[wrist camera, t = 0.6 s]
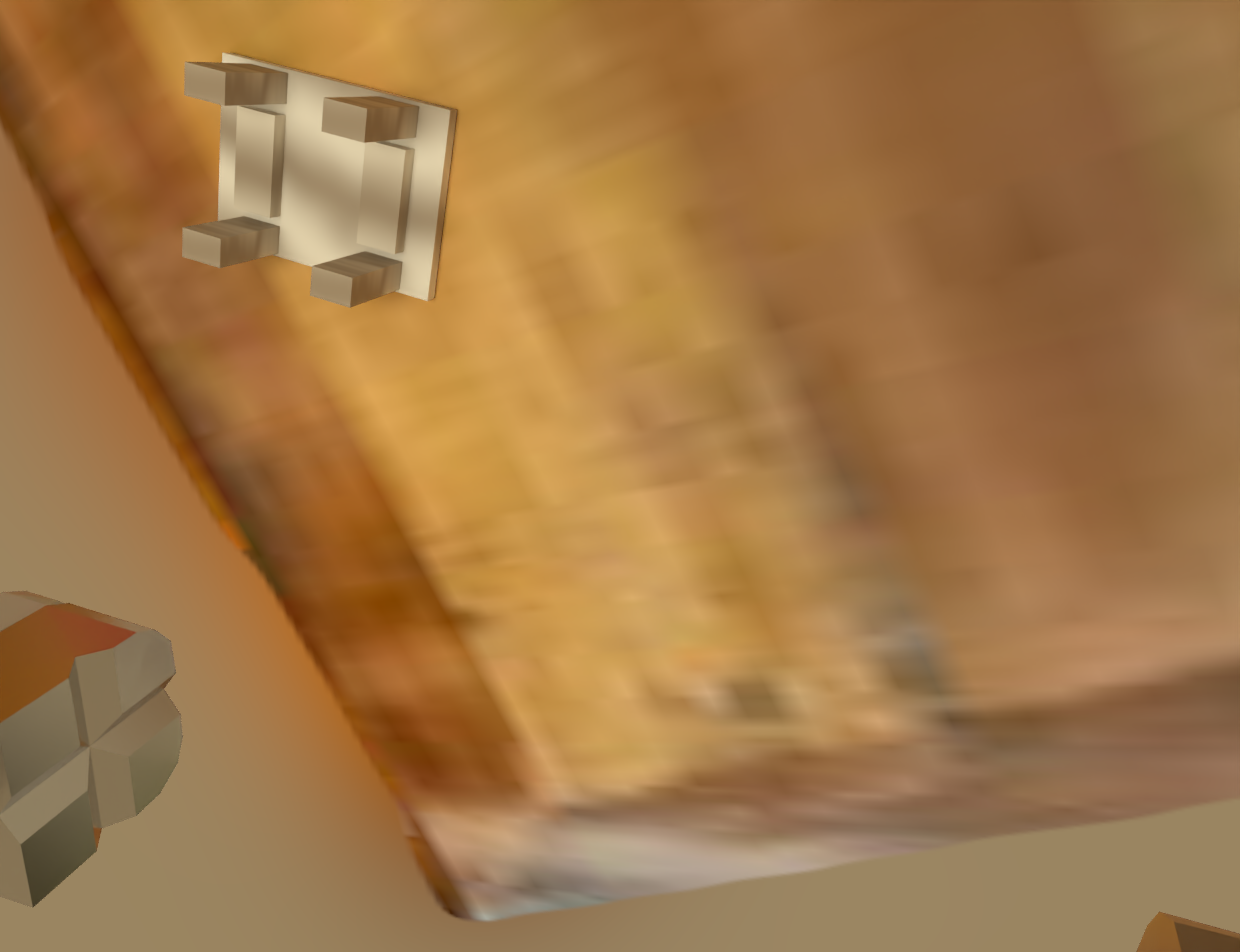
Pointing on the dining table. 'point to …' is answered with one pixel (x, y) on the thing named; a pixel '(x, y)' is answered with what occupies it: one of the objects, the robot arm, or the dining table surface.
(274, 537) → the dining table surface
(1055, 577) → the dining table surface
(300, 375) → the dining table surface
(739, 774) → the dining table surface
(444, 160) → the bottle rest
